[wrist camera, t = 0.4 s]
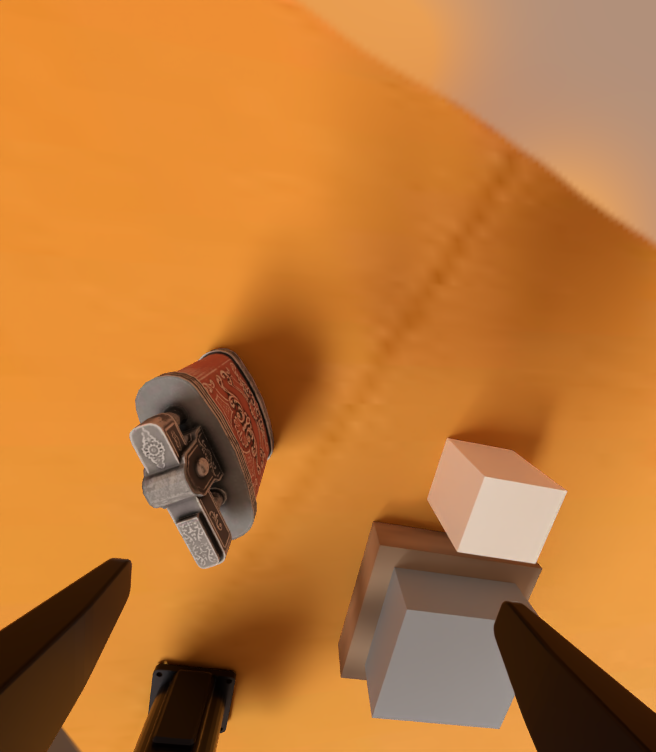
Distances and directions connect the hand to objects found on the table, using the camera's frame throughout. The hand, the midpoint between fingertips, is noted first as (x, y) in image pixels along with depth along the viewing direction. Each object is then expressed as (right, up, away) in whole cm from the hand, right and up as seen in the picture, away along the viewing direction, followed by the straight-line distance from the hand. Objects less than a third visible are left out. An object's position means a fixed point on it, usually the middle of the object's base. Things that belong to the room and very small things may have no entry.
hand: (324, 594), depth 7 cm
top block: (+8, -13, +15) cm, 22 cm away
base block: (+8, -12, +18) cm, 23 cm away
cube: (+10, -2, +15) cm, 19 cm away
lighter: (-6, +3, +13) cm, 15 cm away
